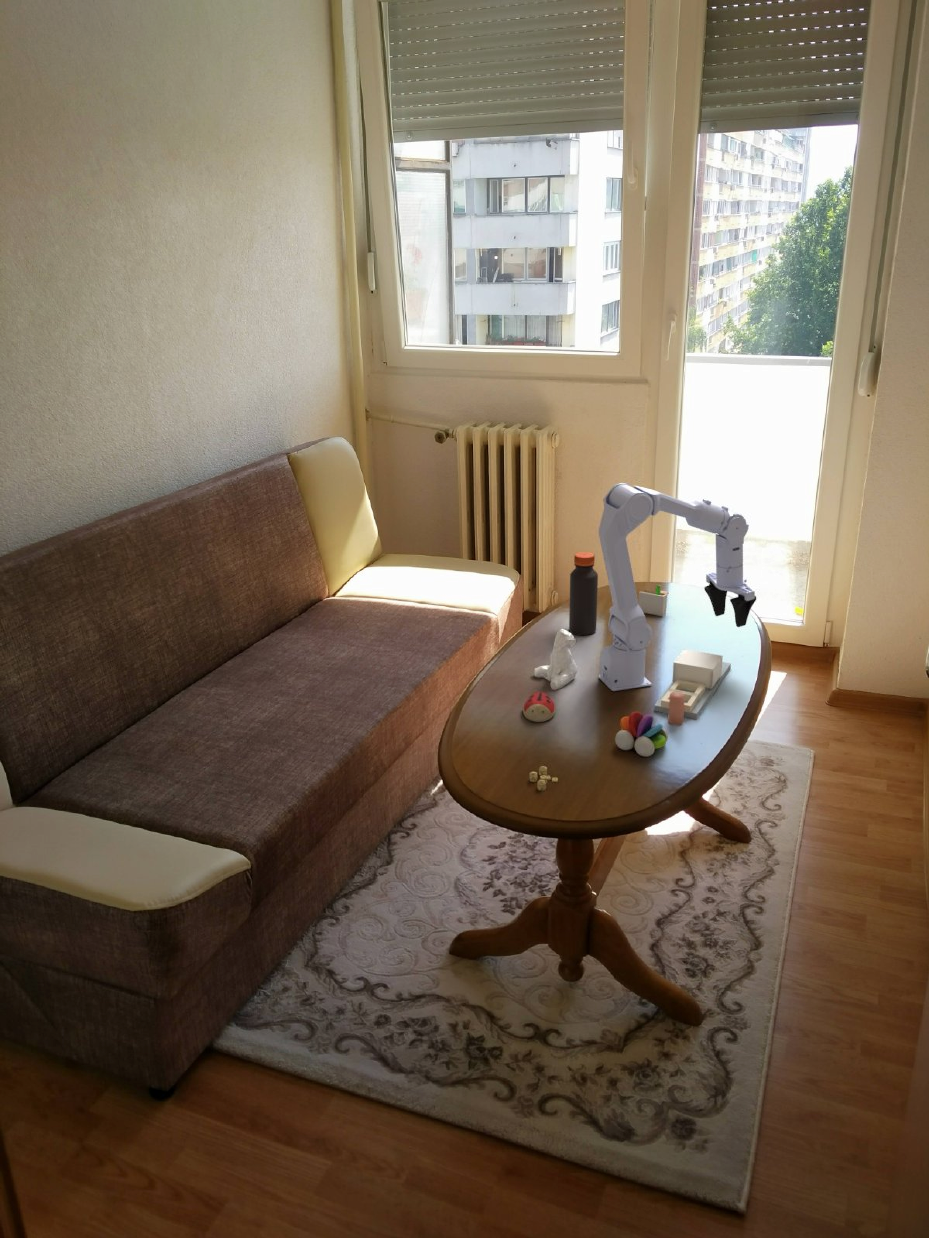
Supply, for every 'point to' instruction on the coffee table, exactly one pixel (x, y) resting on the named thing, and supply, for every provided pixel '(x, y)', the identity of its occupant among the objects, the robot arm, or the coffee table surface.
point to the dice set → (541, 778)
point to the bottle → (583, 595)
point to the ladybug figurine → (539, 707)
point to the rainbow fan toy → (640, 734)
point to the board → (691, 695)
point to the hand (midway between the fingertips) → (730, 620)
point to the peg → (676, 708)
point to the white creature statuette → (559, 662)
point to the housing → (697, 668)
